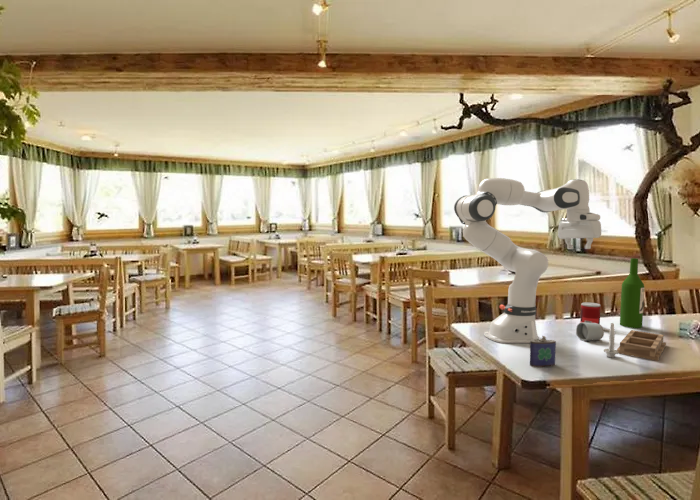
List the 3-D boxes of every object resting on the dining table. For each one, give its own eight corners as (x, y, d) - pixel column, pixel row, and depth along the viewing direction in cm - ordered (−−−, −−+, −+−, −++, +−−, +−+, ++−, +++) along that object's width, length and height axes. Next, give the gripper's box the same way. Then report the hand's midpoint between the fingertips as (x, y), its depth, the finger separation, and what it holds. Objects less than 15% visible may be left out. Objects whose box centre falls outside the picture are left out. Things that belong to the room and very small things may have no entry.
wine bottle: (641, 329, 192) (645, 260, 189) (618, 326, 197) (622, 258, 194) (642, 325, 199) (646, 258, 196) (620, 322, 204) (623, 257, 201)
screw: (612, 359, 152) (600, 355, 157) (621, 357, 154) (609, 353, 158) (614, 325, 151) (601, 321, 156) (623, 323, 153) (611, 320, 157)
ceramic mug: (605, 342, 173) (605, 324, 173) (587, 342, 172) (588, 324, 171) (587, 335, 184) (587, 318, 183) (570, 336, 182) (571, 319, 182)
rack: (657, 360, 151) (658, 349, 150) (616, 352, 159) (616, 342, 159) (666, 345, 168) (666, 335, 168) (628, 339, 177) (628, 329, 177)
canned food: (603, 328, 193) (604, 305, 192) (585, 328, 193) (586, 305, 192) (593, 324, 201) (594, 302, 200) (577, 324, 201) (578, 302, 200)
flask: (552, 363, 148) (553, 334, 147) (557, 366, 145) (558, 336, 145) (528, 364, 148) (529, 335, 147) (532, 367, 145) (533, 337, 144)
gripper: (554, 218, 189) (554, 249, 189) (591, 215, 169) (592, 249, 169) (565, 218, 190) (566, 248, 190) (603, 215, 171) (604, 248, 171)
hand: (578, 248), depth 180 cm, fingers open, 8 cm apart
